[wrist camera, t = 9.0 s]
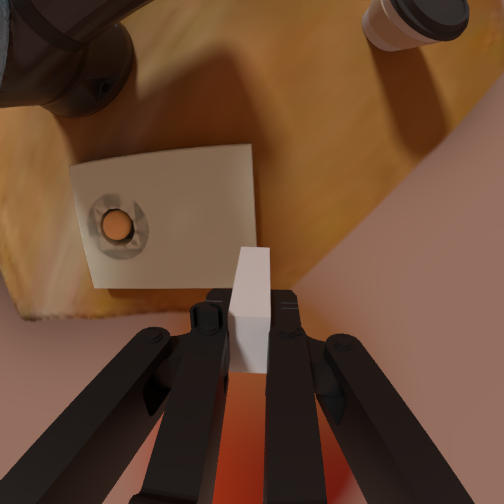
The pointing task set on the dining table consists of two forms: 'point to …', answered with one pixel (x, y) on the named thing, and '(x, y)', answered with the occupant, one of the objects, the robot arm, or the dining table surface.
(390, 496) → the robot arm
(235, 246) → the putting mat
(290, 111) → the dining table surface
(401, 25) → the coffee cup
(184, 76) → the dining table surface
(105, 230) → the ball
